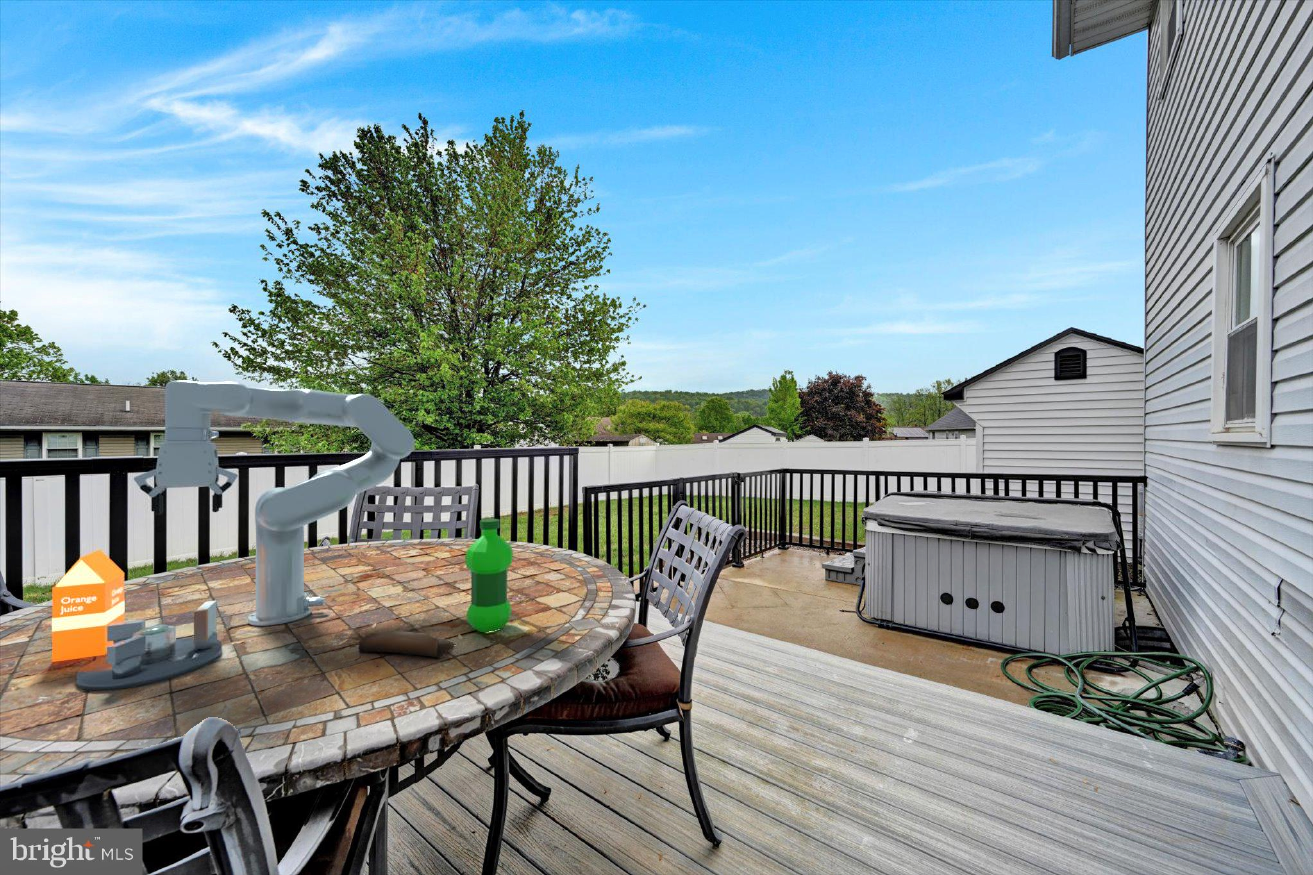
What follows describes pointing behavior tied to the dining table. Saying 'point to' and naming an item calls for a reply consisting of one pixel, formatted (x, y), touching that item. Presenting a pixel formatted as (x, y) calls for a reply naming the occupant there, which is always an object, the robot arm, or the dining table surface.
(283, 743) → the dining table surface
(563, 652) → the dining table surface
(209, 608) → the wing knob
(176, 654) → the tribrach base
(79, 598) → the orange juice
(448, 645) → the sunglasses case
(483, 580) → the plastic bottle
